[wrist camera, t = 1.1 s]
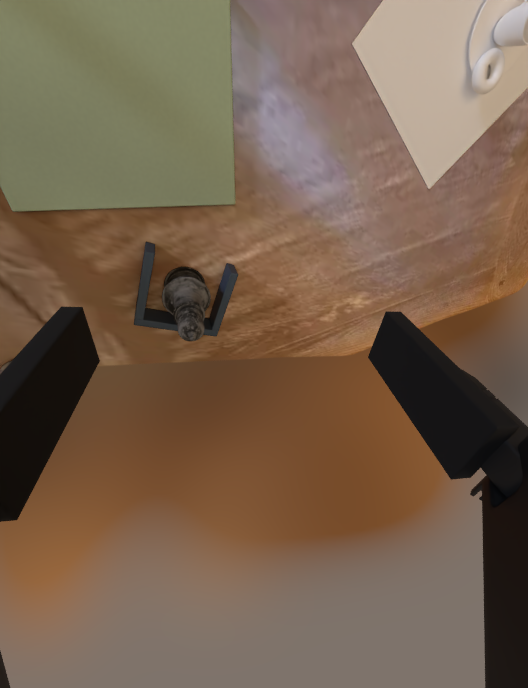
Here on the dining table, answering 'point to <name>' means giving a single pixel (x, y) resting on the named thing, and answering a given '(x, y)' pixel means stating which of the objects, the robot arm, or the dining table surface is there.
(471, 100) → the teacup and saucer
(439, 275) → the dining table surface
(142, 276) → the blue-grey u-shaped frame
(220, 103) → the mat
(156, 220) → the dining table surface
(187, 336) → the salt shaker
